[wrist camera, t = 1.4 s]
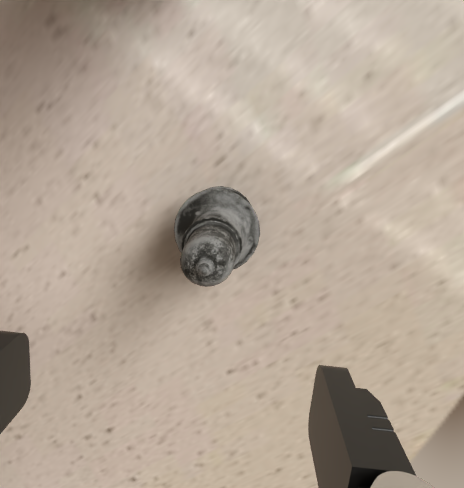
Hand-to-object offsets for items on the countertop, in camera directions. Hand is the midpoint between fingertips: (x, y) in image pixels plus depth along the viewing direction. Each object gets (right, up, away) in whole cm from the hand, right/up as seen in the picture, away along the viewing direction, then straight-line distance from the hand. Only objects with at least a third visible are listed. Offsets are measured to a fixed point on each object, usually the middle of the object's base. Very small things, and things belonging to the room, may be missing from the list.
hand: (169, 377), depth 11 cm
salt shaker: (+1, +6, +20) cm, 21 cm away
